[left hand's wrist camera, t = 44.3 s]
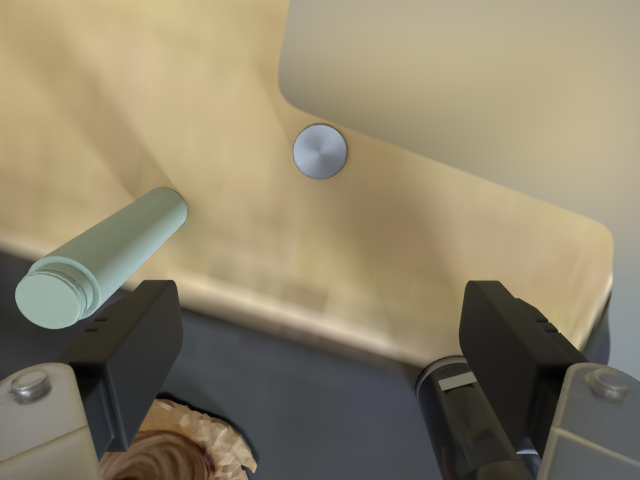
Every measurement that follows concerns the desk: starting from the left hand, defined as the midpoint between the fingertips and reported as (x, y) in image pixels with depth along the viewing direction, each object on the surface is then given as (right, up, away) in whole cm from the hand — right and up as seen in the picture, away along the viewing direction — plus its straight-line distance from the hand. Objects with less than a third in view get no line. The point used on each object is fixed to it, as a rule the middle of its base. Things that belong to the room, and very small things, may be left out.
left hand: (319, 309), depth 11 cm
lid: (0, +10, +27) cm, 28 cm away
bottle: (-16, +5, +30) cm, 35 cm away
